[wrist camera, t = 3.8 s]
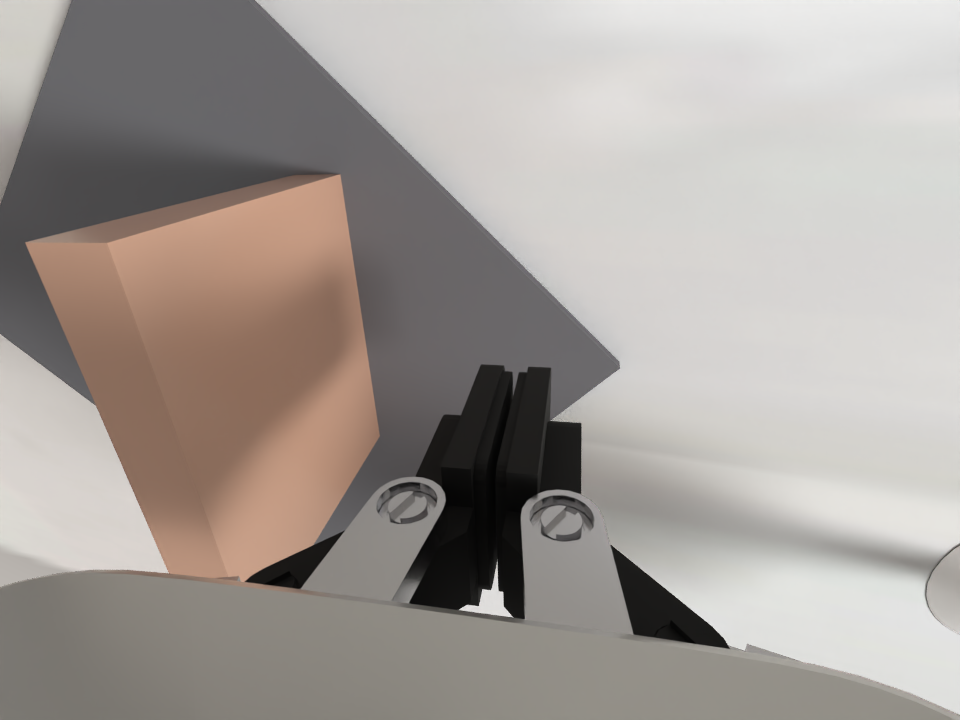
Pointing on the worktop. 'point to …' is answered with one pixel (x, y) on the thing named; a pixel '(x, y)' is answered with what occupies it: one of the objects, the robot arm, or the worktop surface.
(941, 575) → the champagne flute
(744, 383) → the worktop surface
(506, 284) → the mat
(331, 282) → the tile
